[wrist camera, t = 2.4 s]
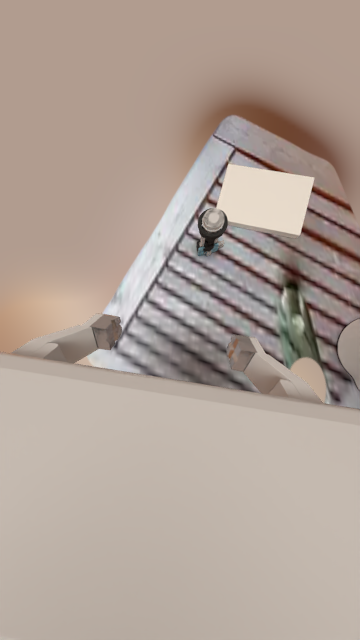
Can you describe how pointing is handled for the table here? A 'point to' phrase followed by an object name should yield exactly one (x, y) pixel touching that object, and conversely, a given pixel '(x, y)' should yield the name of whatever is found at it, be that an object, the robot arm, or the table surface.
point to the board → (265, 200)
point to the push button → (211, 230)
